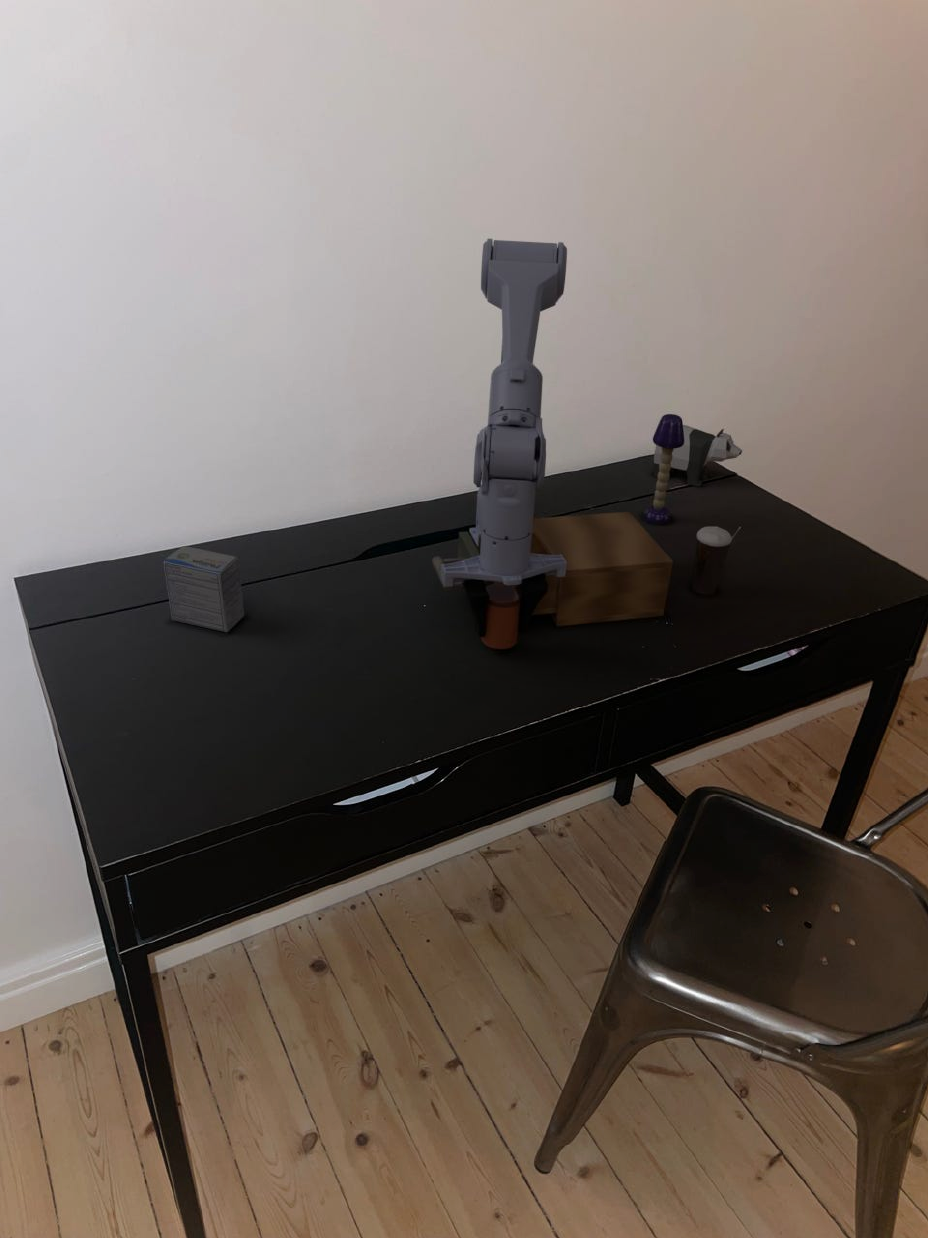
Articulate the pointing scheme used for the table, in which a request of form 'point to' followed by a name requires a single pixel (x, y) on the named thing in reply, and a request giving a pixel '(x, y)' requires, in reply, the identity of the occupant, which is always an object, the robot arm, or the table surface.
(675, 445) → the toy lamp
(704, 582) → the milkshake
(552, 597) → the drawer
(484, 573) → the robot arm
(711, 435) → the giant panda
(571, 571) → the cabinet
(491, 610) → the spice jar
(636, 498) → the table surface
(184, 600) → the medicine box
